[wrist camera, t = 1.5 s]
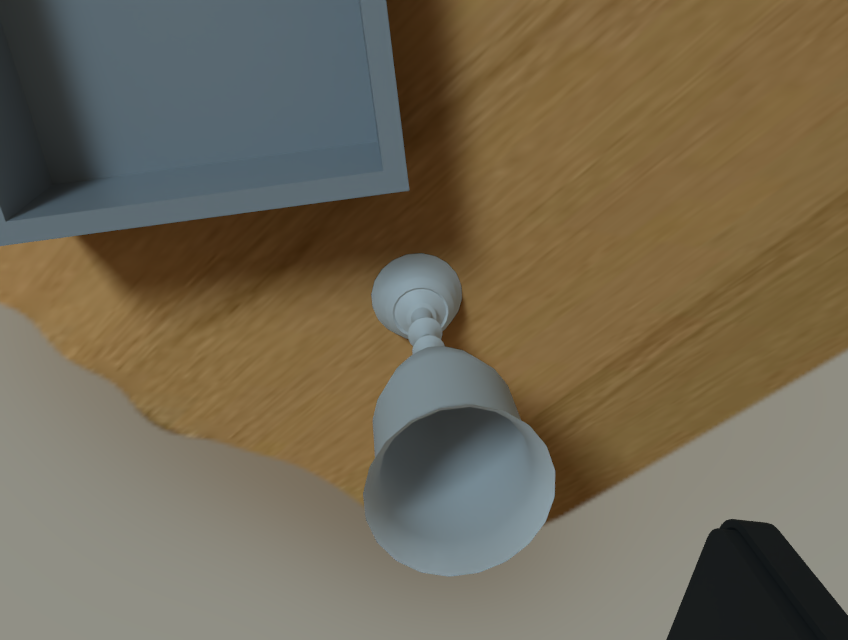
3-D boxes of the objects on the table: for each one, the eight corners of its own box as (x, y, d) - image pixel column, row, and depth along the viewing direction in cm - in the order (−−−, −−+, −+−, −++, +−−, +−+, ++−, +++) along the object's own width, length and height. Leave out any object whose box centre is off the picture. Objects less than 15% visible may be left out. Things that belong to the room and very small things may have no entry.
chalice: (359, 229, 42) (369, 401, 26) (485, 237, 43) (571, 407, 27) (351, 353, 45) (357, 576, 29) (469, 357, 46) (539, 576, 30)
